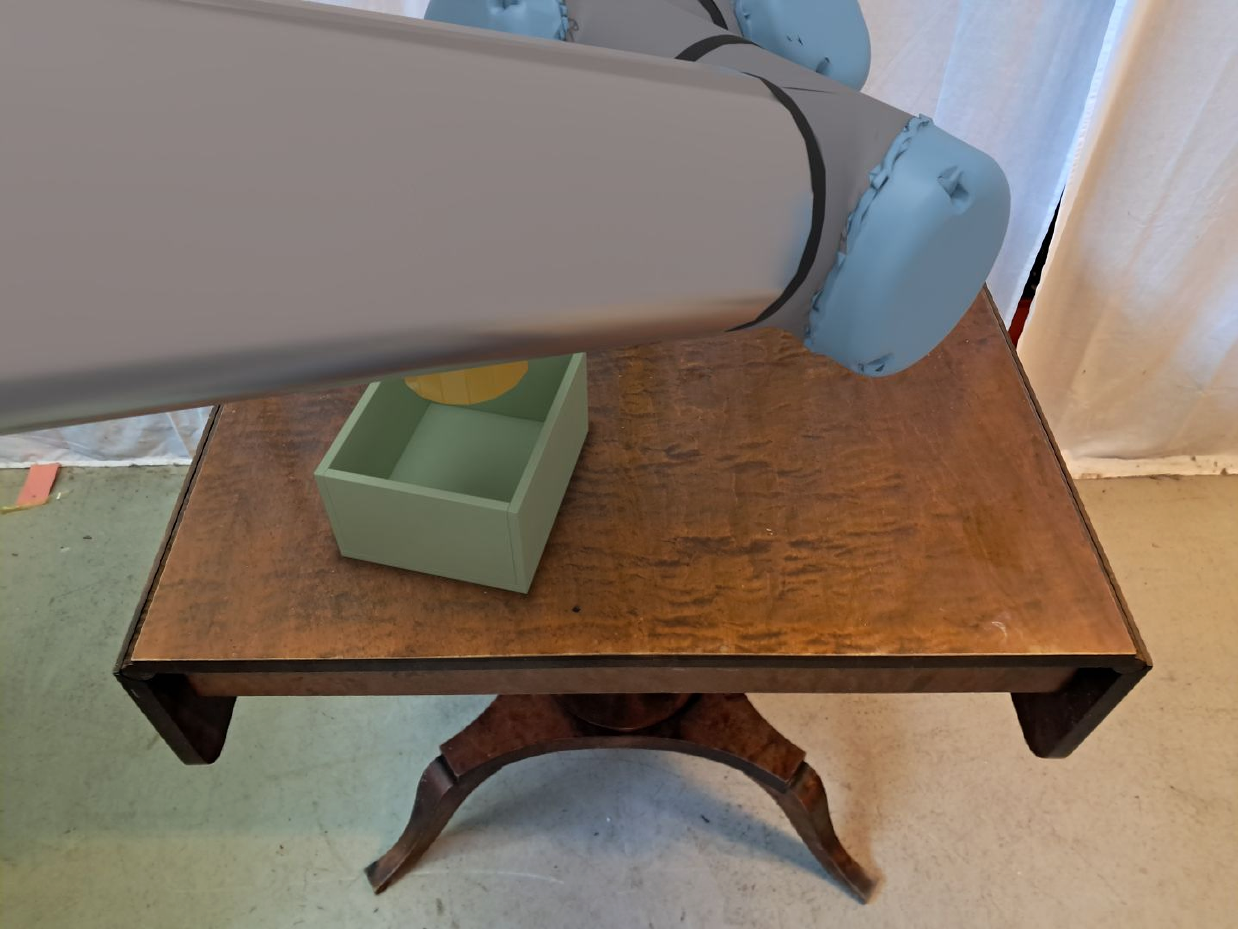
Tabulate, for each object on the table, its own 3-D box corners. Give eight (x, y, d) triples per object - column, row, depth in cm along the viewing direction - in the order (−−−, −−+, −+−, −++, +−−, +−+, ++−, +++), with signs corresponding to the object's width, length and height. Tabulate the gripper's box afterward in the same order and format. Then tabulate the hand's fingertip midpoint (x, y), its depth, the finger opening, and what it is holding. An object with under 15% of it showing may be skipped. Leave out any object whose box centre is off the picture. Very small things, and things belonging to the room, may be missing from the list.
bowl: (454, 430, 66) (440, 347, 60) (377, 366, 70) (357, 284, 65) (555, 368, 70) (550, 286, 65) (477, 312, 75) (466, 230, 69)
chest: (527, 594, 73) (517, 513, 66) (341, 556, 76) (312, 473, 69) (588, 429, 86) (586, 346, 78) (427, 401, 88) (410, 318, 81)
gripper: (540, 339, 46) (358, 445, 63) (739, 144, 59) (543, 275, 76) (439, 213, 44) (279, 358, 61) (668, 40, 57) (483, 199, 74)
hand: (426, 312), depth 69 cm, fingers closed on bowl, 10 cm apart
